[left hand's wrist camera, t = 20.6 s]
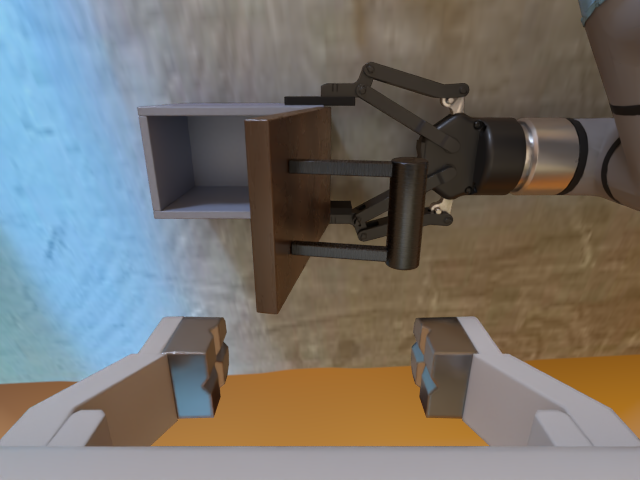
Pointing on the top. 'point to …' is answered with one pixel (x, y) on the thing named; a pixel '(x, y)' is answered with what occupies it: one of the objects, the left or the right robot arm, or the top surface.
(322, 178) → the block with bar handle
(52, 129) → the top surface
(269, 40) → the top surface
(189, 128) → the chest
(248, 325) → the top surface
